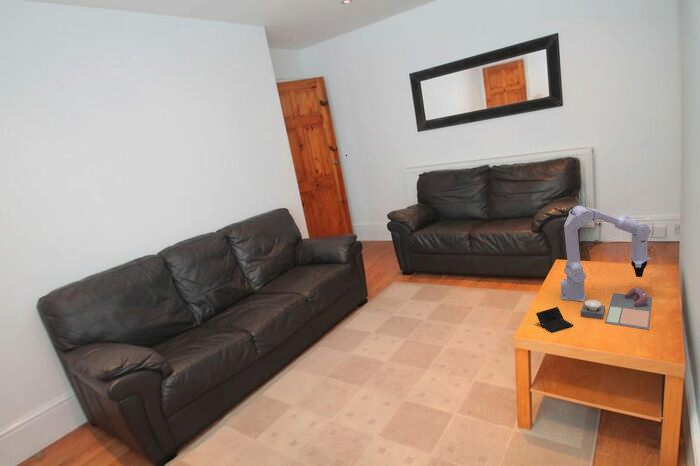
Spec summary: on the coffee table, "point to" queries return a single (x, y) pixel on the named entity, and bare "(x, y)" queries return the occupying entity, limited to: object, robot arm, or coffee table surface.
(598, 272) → the coffee table surface
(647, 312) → the grey flat board
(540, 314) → the handheld gaming console
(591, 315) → the button housing
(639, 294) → the video game controller
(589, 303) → the button
